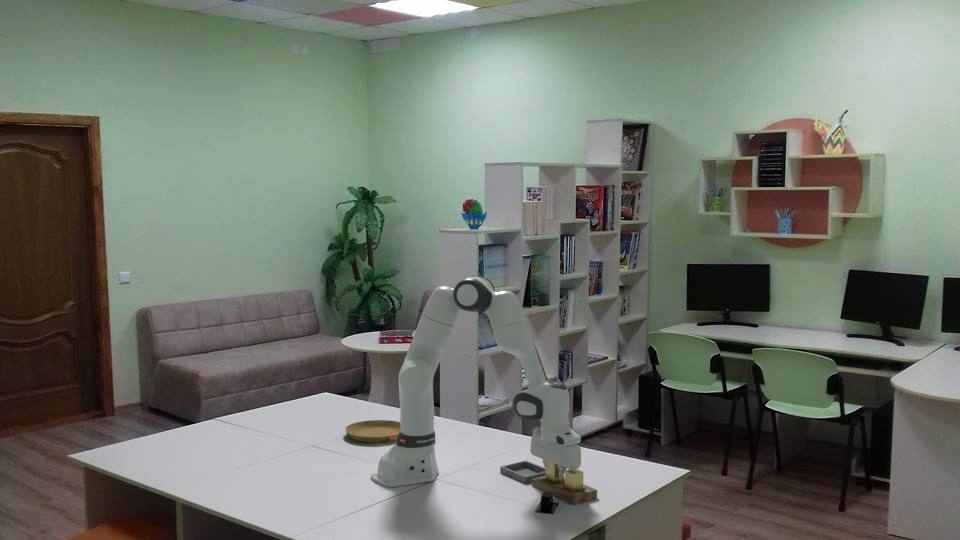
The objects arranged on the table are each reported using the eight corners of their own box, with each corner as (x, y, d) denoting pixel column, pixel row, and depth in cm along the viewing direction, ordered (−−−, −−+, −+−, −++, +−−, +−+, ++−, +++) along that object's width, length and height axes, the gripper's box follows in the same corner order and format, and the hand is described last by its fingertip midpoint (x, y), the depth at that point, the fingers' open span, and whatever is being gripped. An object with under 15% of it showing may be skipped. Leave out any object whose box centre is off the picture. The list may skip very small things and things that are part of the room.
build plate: (539, 501, 253) (540, 486, 253) (563, 503, 251) (563, 488, 251) (530, 515, 241) (530, 500, 241) (555, 518, 239) (555, 502, 239)
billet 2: (573, 499, 253) (573, 474, 252) (564, 496, 256) (564, 470, 255) (583, 497, 255) (583, 471, 254) (574, 493, 258) (574, 468, 258)
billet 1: (554, 486, 260) (554, 461, 259) (545, 483, 263) (546, 458, 262) (564, 484, 262) (564, 459, 262) (555, 480, 266) (555, 456, 265)
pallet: (573, 504, 248) (573, 496, 248) (531, 486, 264) (531, 479, 263) (597, 497, 254) (597, 489, 254) (555, 480, 270) (555, 472, 269)
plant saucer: (375, 424, 336) (375, 416, 335) (421, 434, 322) (421, 425, 321) (331, 438, 316) (331, 429, 316) (378, 449, 302) (378, 440, 302)
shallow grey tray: (525, 485, 265) (525, 477, 265) (500, 473, 276) (500, 466, 275) (551, 478, 272) (551, 470, 272) (525, 467, 282) (525, 460, 282)
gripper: (526, 427, 267) (525, 469, 269) (569, 442, 251) (569, 486, 252) (540, 423, 271) (540, 465, 273) (584, 438, 255) (584, 482, 256)
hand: (554, 475), depth 262 cm, fingers closed on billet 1, 4 cm apart
